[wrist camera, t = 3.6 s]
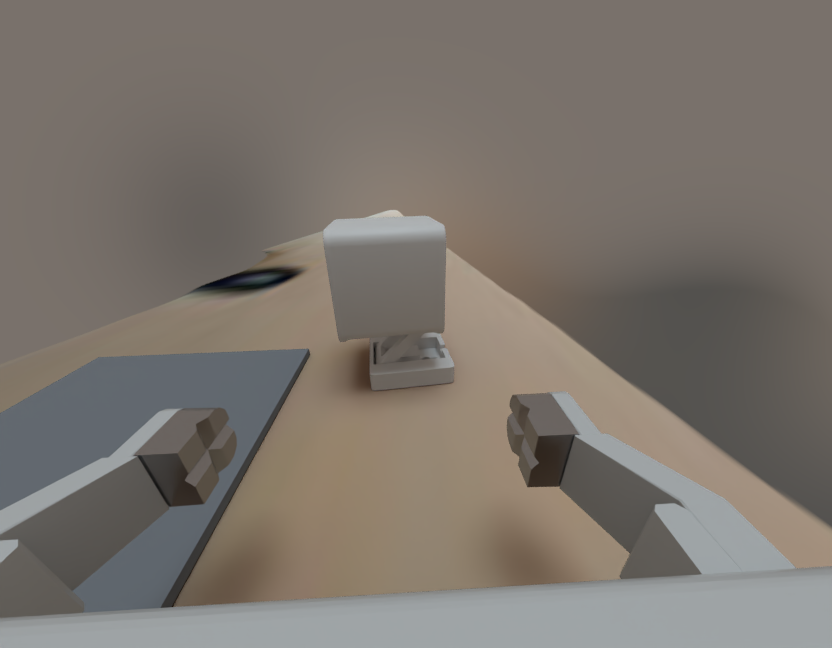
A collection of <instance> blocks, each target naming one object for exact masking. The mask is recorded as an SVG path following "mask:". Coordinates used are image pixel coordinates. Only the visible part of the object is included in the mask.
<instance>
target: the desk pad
mask: <svg viewBox="0 0 832 648" xmlns="http://www.w3.org/2000/svg"><path fill="white" fill-rule="evenodd" d="M309 355H310V352H309V349H292V350H267V351H243V352H218V353H194V354H169V355H145V356H121V357H98V358H97V359H95V360H93V361H91V362H90V363H88V364H86V365H84V366H82V367H81V368H79V369H77V370H75V371H74V372H72V373H70V374H68V375H67V376H65V377H63V378H61V379H60V380H58V381H56V382H54V383H53V384H51V385H49V386H47V387H45V388H44V389H42V390H40V391H38V392H37V393H35V394H33V395H31V396H30V397H28V398H26V399H24V400H23V401H21V402H19V403H17V404H16V405H14V406H12V407H10V408H9V409H7V410H5V411H3V412H1V413H0V510H2V509H4V508H6V507H8V506H10V505H12V504H14V503H16V502H18V501H20V500H22V499H24V498H26V497H27V496H29V495H31V494H33V493H35V492H37V491H39V490H41V489H43V488H45V487H47V486H49V485H51V484H53V483H55V482H56V481H58V480H60V479H62V478H64V477H66V476H68V475H70V474H72V473H74V472H76V471H78V470H80V469H82V468H84V467H85V466H87V465H89V464H91V463H93V462H95V461H97V460H99V459H101V458H109V457H110V456H111V455H112V454H113V453H114V452H115V451H116V450H117V449H118V448H120V447H121V446H122V445H123V444H124V443H125V442H126V441H127V440H128V439H129V438H130V437H132V436H133V435H134V434H135V433H136V432H137V431H138V430H139V429H140V428H141V427H142V426H144V425H145V424H146V423H147V422H148V421H149V420H150V419H151V418H152V417H153V416H154V415H156V414H157V413H158V412H159V411H162V410H165V409H184V408H219V407H220V408H223V409H225V410H226V412H227V414H228V416H229V420H228V422H227V424H226V425H228V426H229V427H230V428H232V429H233V430H234V432H235V434H236V437H237V447H236V451H235V455H234V457H233V459H232V460H231V462H230V464H229V465H228V466H227V467H226V468H224V469H223V470H222V471H220V472H219V473H218V475H219V482H218V483H217V485H216V486H215V488H214V490H213V491H212V493H211V494H210V496H209V498H208V499H207V501H206V502H205V504H201V505H189V506H177V507H169V508H170V509H169V510H168V511H167V512H165V513H164V514H163V515H162V516H161V517H159V518H158V519H157V520H156V521H155V522H154V523H152V524H151V525H150V526H149V527H148V528H146V529H145V530H144V531H143V532H142V533H141V534H139V535H138V536H137V537H136V538H135V539H133V540H132V541H131V542H130V543H129V544H128V545H126V546H125V547H124V548H123V549H122V550H120V551H119V552H118V553H117V554H116V555H114V556H113V557H112V558H111V559H110V560H109V561H107V562H106V563H105V564H104V565H103V566H101V567H100V568H99V569H98V570H97V571H96V572H94V573H93V574H92V575H91V576H90V577H88V578H87V579H86V580H85V581H84V582H83V583H81V584H80V585H79V586H78V587H77V588H75V589H74V590H73V592H74V593H75V594H76V595H77V596H78V597H79V598H80V599H81V600H82V601H83V602H84V611H83V612H82V613H88V612H104V611H120V610H135V609H151V608H167V607H172V605H173V603H174V601H175V600H176V598H177V596H178V594H179V592H180V590H181V589H182V587H183V585H184V583H185V581H186V580H187V578H188V576H189V574H190V572H191V570H192V569H193V567H194V565H195V563H196V561H197V559H198V558H199V556H200V554H201V552H202V550H203V549H204V547H205V545H206V543H207V541H208V539H209V538H210V536H211V534H212V532H213V530H214V528H215V527H216V525H217V523H218V521H219V519H220V518H221V516H222V514H223V512H224V510H225V508H226V507H227V505H228V503H229V501H230V499H231V497H232V496H233V494H234V492H235V490H236V488H237V487H238V485H239V483H240V481H241V479H242V477H243V476H244V474H245V472H246V470H247V468H248V466H249V465H250V463H251V461H252V459H253V457H254V456H255V454H256V452H257V450H258V448H259V446H260V445H261V443H262V441H263V439H264V437H265V435H266V434H267V432H268V430H269V428H270V426H271V425H272V423H273V421H274V419H275V417H276V415H277V414H278V412H279V410H280V408H281V406H282V404H283V403H284V401H285V399H286V397H287V395H288V394H289V392H290V390H291V388H292V386H293V384H294V383H295V381H296V379H297V377H298V375H299V373H300V372H301V370H302V368H303V366H304V364H305V363H306V361H307V359H308V357H309Z"/></svg>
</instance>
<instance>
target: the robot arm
mask: <svg viewBox="0 0 832 648" xmlns="http://www.w3.org/2000/svg"><path fill="white" fill-rule="evenodd" d="M510 408H511V410H512V412H513V413H512V414H511V415H510V416H509V417H508V420H507V436H508V440H509V444H510V446H511V449H512V451H513V452H514V453H515V454H517V455H518V456H519V463H518V466H519V468H520V471H521V473H522V475H523V478H524V480H525V483H526V485H527V487H558V486H560V489H561V490H562V491H563V492H564V493H565V494H566V495H568V496H569V497H570V498H571V499H572V500H573V501H574V502H575V503H576V504H577V505H578V506H579V507H581V508H582V509H583V510H584V511H585V512H586V513H587V514H588V515H589V516H590V517H591V518H592V519H593V520H595V521H596V522H597V523H598V524H599V525H600V526H601V527H602V528H603V529H604V530H605V531H606V532H608V533H609V534H610V535H611V536H612V537H613V538H614V539H615V540H616V541H617V542H618V543H619V544H620V545H622V546H623V547H624V548H625V549H626V550H627V551H628V552H629V553H630V555H629V557H628V559H627V561H626V563H625V565H624V567H623V569H622V571H621V574H620V578H621V579H617V580H601V581H584V582H568V583H552V584H536V585H520V586H504V587H488V588H471V589H455V590H439V591H423V592H407V593H391V594H374V595H358V596H342V597H326V598H310V599H294V600H278V601H262V602H246V603H230V604H215V605H199V606H183V607H167V608H151V609H135V610H120V611H104V612H88V613H82V612H83V611H84V602H83V601H82V600H81V599H80V598H79V597H78V596H77V595H76V594H75V593H74V592H73V590H74V589H75V588H77V587H78V586H79V585H80V584H81V583H83V582H84V581H85V580H86V579H87V578H88V577H90V576H91V575H92V574H93V573H94V572H96V571H97V570H98V569H99V568H100V567H101V566H103V565H104V564H105V563H106V562H107V561H109V560H110V559H111V558H112V557H113V556H114V555H116V554H117V553H118V552H119V551H120V550H122V549H123V548H124V547H125V546H126V545H128V544H129V543H130V542H131V541H132V540H133V539H135V538H136V537H137V536H138V535H139V534H141V533H142V532H143V531H144V530H145V529H146V528H148V527H149V526H150V525H151V524H152V523H154V522H155V521H156V520H157V519H158V518H159V517H161V516H162V515H163V514H164V513H165V512H167V511H168V510H169V509H170V508H169V507H177V506H189V505H201V504H205V502H206V501H207V499H208V498H209V496H210V494H211V493H212V491H213V490H214V488H215V486H216V485H217V483H218V482H219V475H218V473H219V472H220V471H222V470H223V469H224V468H226V467H227V466H228V465H229V464H230V462H231V460H232V459H233V457H234V455H235V451H236V447H237V437H236V434H235V432H234V430H233V429H232V428H230V427H229V426H228V425H226V424H227V422H228V420H229V416H228V414H227V412H226V410H225V409H223V408H220V407H219V408H184V409H165V410H162V411H159V412H158V413H157V414H156V415H154V416H153V417H152V418H151V419H150V420H149V421H148V422H147V423H146V424H145V425H144V426H142V427H141V428H140V429H139V430H138V431H137V432H136V433H135V434H134V435H133V436H132V437H130V438H129V439H128V440H127V441H126V442H125V443H124V444H123V445H122V446H121V447H120V448H118V449H117V450H116V451H115V452H114V453H113V454H112V455H111V456H110V457H109V458H101V459H99V460H97V461H95V462H93V463H91V464H89V465H87V466H85V467H84V468H82V469H80V470H78V471H76V472H74V473H72V474H70V475H68V476H66V477H64V478H62V479H60V480H58V481H56V482H55V483H53V484H51V485H49V486H47V487H45V488H43V489H41V490H39V491H37V492H35V493H33V494H31V495H29V496H27V497H26V498H24V499H22V500H20V501H18V502H16V503H14V504H12V505H10V506H8V507H6V508H4V509H2V510H0V648H832V566H827V567H811V568H796V567H795V566H794V565H793V564H792V563H790V562H789V561H788V560H787V559H786V558H785V557H784V556H783V555H782V554H781V553H780V552H779V551H778V550H777V549H776V548H775V547H774V546H773V545H772V544H771V543H770V542H769V541H768V540H767V539H766V538H765V537H764V536H763V535H762V534H761V533H760V532H759V531H758V530H757V529H756V528H755V527H754V526H753V525H751V524H750V523H749V522H748V521H747V520H746V519H745V518H744V517H743V516H742V515H741V514H740V513H739V512H738V511H737V510H736V509H735V508H734V507H733V506H732V505H731V504H730V503H729V502H728V501H727V500H726V499H724V498H722V497H721V496H719V495H717V494H715V493H713V492H712V491H710V490H708V489H706V488H704V487H703V486H701V485H699V484H697V483H695V482H694V481H692V480H690V479H688V478H686V477H685V476H683V475H681V474H679V473H677V472H676V471H674V470H672V469H670V468H668V467H667V466H665V465H663V464H661V463H659V462H657V461H656V460H654V459H652V458H650V457H648V456H647V455H645V454H643V453H641V452H639V451H638V450H636V449H634V448H632V447H630V446H629V445H627V444H625V443H623V442H621V441H620V440H618V439H616V438H614V437H612V436H611V435H609V434H601V433H600V431H599V430H598V429H597V428H596V426H595V425H594V424H593V423H592V421H591V420H590V419H589V418H588V417H587V415H586V414H585V413H584V412H583V410H582V409H581V408H580V407H579V405H578V404H577V403H576V402H575V400H574V399H573V398H572V397H571V396H570V394H569V393H567V392H565V391H564V392H548V393H537V394H517V395H512V397H511V400H510Z"/></svg>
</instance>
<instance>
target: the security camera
mask: <svg viewBox="0 0 832 648" xmlns="http://www.w3.org/2000/svg"><path fill="white" fill-rule="evenodd" d="M323 243H324V250H325V257H326V263H327V269H328V276H329V282H330V288H331V295H332V301H333V307H334V314H335V320H336V326H337V333H338V338H339V341H340V342H346V341H347V340H351V339H362V338H370V381H371V389H372V390H373V391H378V390H388V389H397V388H407V387H416V386H425V385H435V384H444V383H452V382H453V381H454V363H453V361H452V359H451V357H450V354H449V352H448V350H447V348H444V346H445V344H444V341H443V339H442V337H441V335H440V333H443V332H444V325H445V273H446V232H445V227H444V225H443V224H441V223H439V222H437V221H435V220H433V219H432V218H430V217H428V216H411V217H385V218H359V219H335V220H334V221H333V222H332V223H331V224H330V225H329V226H328V227H326V228H325V229H324V231H323ZM424 359H425V360H424Z"/></svg>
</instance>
